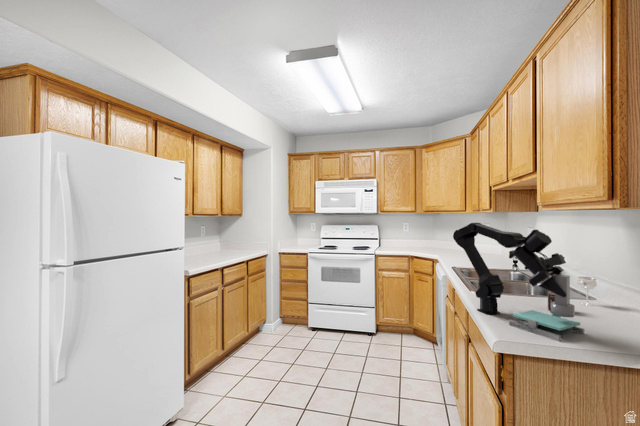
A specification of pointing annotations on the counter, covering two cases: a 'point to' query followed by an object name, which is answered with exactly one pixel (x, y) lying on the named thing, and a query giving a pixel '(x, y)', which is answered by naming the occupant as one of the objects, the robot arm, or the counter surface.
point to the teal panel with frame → (534, 329)
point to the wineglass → (587, 286)
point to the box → (550, 299)
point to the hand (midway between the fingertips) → (567, 295)
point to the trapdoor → (546, 320)
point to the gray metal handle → (563, 298)
